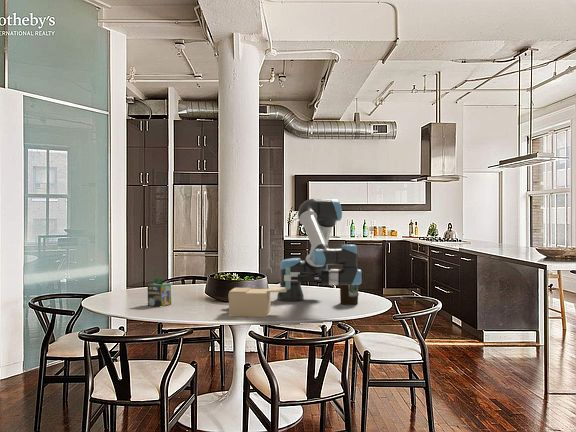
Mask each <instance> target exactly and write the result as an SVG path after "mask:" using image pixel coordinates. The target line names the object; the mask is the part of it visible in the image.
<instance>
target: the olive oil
mask: <svg viewBox="0 0 576 432" xmlns="http://www.w3.org/2000/svg"><path fill="white" fill-rule="evenodd" d="M339 293H340V295H339V298H340V302H339V303H340V304H341V305H347V306H348V305H349V306H351V305H354V306H355V305H358V303H359V294H360V293H359V285H339Z"/></svg>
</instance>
